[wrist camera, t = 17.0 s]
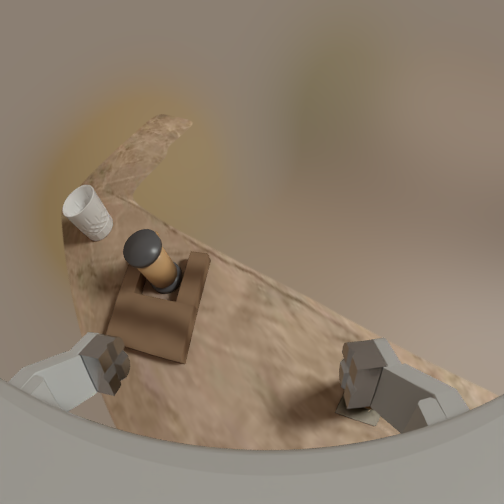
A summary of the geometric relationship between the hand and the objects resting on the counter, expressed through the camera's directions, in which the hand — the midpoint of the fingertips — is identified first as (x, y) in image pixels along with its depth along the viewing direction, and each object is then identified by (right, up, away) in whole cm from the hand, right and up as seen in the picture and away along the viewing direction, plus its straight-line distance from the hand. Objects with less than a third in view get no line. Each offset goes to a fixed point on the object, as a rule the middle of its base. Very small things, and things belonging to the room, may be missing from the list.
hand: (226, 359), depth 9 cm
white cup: (-32, +9, +44) cm, 55 cm away
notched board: (-15, -5, +35) cm, 38 cm away
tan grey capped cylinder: (-14, -1, +37) cm, 39 cm away
